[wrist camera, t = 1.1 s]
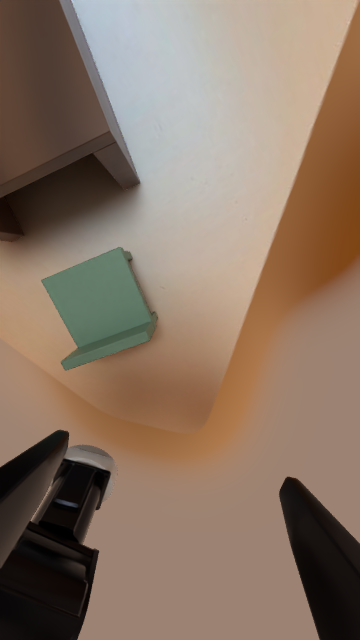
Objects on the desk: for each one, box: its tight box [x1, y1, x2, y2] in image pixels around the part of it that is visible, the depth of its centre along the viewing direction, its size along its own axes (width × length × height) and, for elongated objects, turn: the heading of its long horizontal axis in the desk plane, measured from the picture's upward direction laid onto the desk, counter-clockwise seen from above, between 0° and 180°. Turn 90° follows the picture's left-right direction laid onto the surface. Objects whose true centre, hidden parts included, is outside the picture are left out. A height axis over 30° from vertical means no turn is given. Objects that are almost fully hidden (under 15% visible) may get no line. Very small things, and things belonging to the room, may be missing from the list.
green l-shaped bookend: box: [41, 247, 158, 370], centre depth 18 cm, size 7×7×6 cm
